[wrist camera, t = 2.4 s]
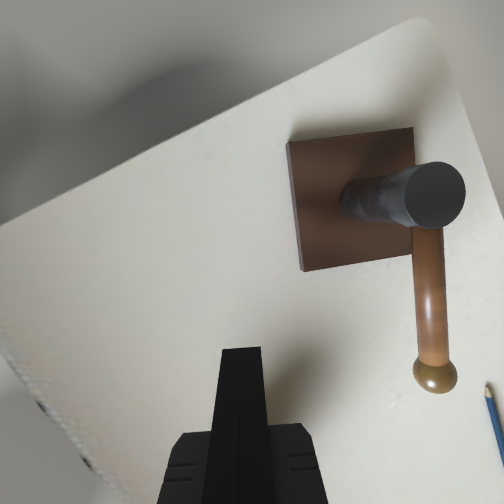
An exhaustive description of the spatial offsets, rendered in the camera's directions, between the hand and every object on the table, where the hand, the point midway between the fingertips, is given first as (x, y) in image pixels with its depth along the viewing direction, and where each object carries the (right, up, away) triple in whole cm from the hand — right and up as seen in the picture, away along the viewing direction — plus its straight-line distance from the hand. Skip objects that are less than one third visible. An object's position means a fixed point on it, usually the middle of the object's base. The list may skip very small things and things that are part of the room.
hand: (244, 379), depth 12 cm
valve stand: (+12, +11, +24) cm, 29 cm away
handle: (+14, +3, +14) cm, 20 cm away
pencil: (+34, -19, +31) cm, 50 cm away
